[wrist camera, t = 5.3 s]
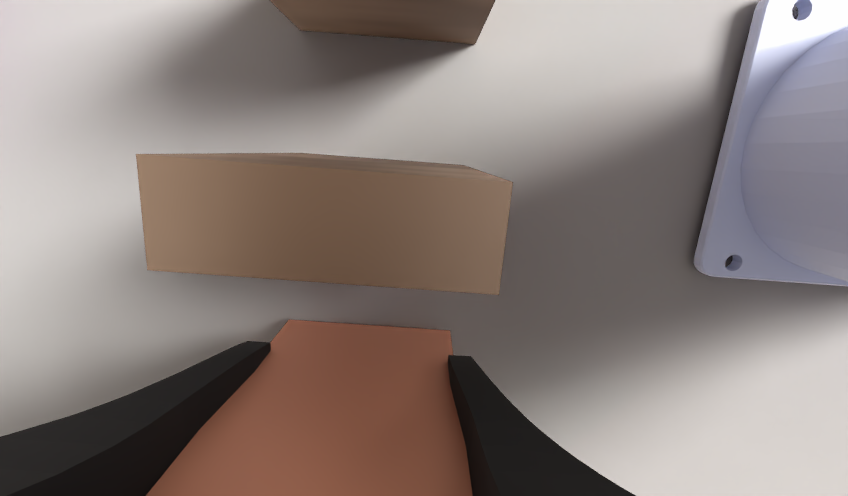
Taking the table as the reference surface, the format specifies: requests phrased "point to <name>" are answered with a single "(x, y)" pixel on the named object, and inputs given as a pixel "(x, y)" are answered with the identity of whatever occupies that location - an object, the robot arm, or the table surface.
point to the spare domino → (333, 420)
